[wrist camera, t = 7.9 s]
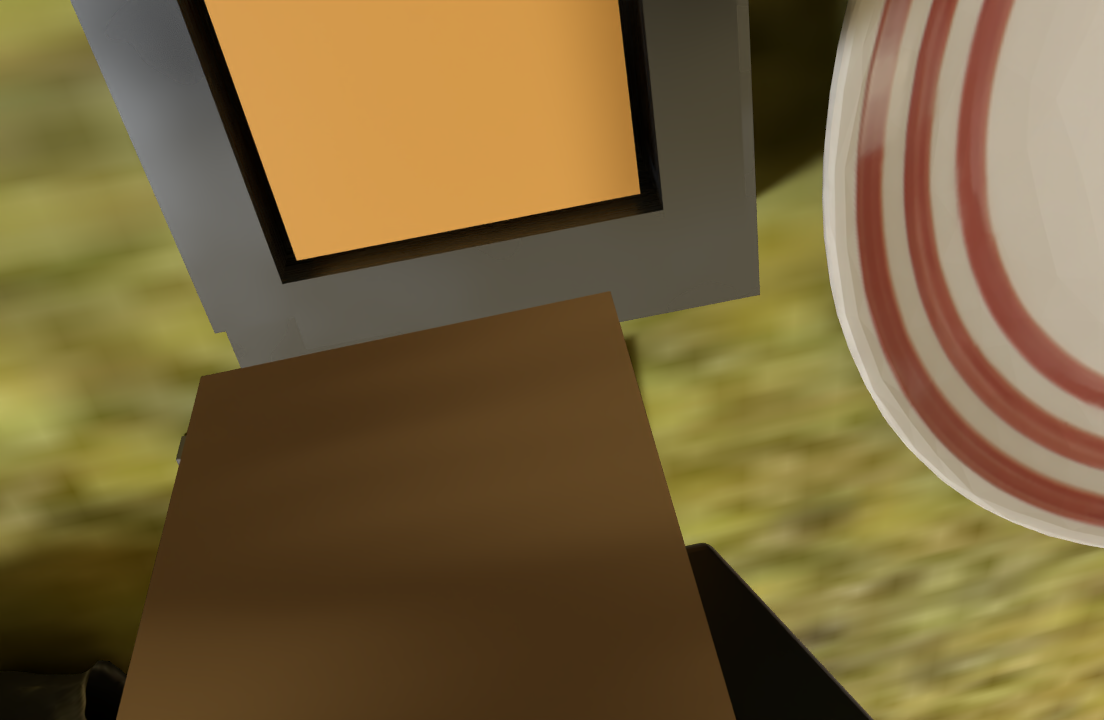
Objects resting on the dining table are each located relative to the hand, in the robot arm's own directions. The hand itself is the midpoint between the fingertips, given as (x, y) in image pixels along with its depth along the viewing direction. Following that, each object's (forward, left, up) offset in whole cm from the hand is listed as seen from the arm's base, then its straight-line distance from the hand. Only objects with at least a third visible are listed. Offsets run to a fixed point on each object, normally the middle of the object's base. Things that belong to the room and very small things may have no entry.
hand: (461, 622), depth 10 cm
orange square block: (0, +3, -10) cm, 10 cm away
